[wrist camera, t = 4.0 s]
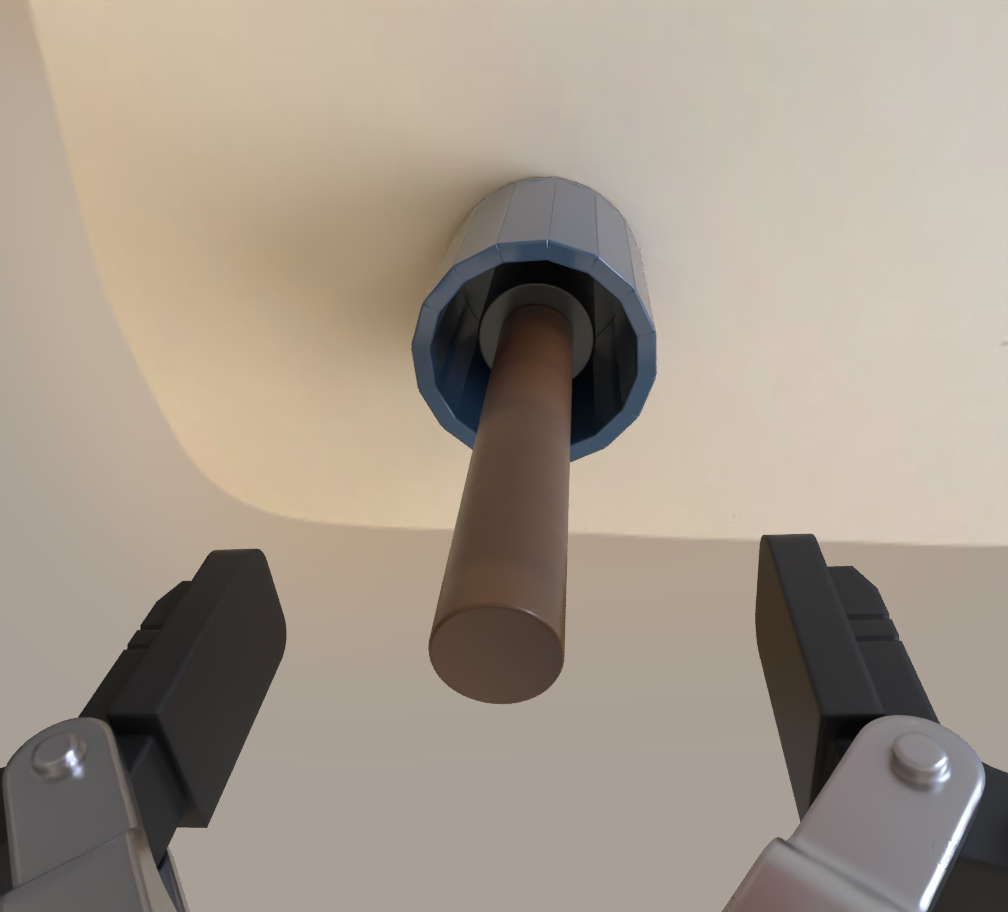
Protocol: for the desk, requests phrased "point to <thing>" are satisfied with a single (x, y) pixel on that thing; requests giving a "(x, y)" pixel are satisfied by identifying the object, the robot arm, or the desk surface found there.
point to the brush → (516, 491)
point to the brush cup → (562, 240)
